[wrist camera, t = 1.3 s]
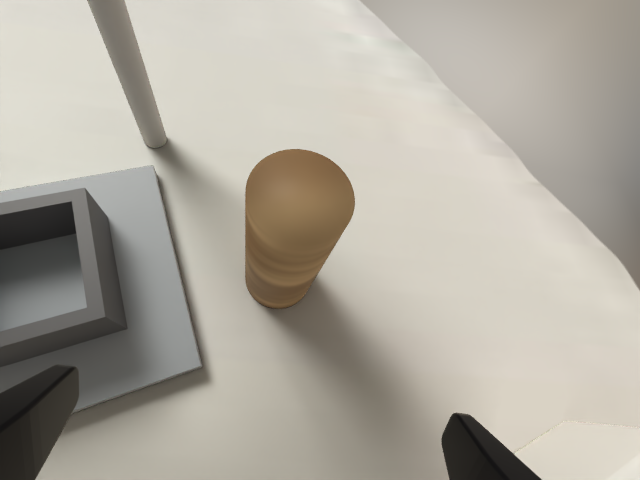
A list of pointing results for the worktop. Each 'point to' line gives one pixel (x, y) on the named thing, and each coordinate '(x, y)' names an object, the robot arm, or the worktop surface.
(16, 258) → the awning socket
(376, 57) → the worktop surface
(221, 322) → the worktop surface
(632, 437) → the medicine bottle
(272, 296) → the tan domed cylinder
